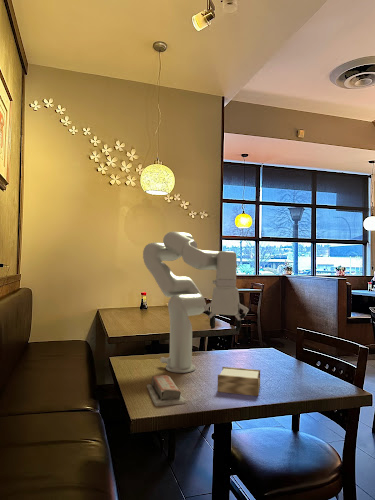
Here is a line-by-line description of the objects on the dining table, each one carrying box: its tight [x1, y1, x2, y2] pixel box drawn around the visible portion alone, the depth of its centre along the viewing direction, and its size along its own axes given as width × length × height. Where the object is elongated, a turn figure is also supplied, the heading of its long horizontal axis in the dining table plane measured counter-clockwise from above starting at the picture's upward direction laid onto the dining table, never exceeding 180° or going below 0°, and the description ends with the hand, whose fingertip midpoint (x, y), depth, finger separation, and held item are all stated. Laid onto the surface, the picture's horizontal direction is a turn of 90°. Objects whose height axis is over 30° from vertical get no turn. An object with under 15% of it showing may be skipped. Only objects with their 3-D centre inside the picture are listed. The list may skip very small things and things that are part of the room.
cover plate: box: [219, 368, 259, 378], centre depth 128 cm, size 13×8×2 cm, turn 75°
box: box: [217, 366, 261, 397], centre depth 128 cm, size 14×11×6 cm
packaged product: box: [146, 374, 187, 407], centre depth 120 cm, size 18×5×10 cm
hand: (225, 329), depth 133 cm, fingers open, 9 cm apart
